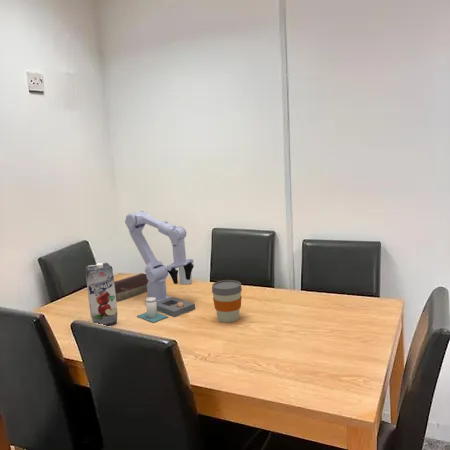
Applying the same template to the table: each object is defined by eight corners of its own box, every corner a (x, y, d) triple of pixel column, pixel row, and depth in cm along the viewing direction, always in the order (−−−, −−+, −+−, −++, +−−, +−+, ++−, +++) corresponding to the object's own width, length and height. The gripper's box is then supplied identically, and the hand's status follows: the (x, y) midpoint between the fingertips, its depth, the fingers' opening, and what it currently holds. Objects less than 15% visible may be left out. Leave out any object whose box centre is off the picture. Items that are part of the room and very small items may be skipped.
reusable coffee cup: (223, 311, 207) (221, 278, 205) (248, 315, 201) (246, 281, 198) (208, 321, 197) (205, 287, 194) (234, 326, 190) (232, 290, 188)
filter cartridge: (145, 316, 205) (143, 299, 203) (153, 313, 208) (151, 296, 207) (151, 318, 202) (149, 301, 200) (159, 315, 205) (158, 298, 203)
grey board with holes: (152, 309, 215) (152, 303, 214) (172, 301, 223) (172, 296, 223) (174, 317, 204) (174, 311, 203) (195, 308, 212) (194, 303, 212)
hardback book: (142, 281, 261) (141, 272, 260) (163, 287, 248) (163, 277, 247) (96, 295, 240) (95, 286, 239) (118, 302, 227) (117, 293, 226)
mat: (136, 316, 206) (136, 315, 206) (151, 311, 212) (151, 310, 212) (153, 323, 198) (153, 322, 198) (168, 317, 204) (168, 316, 204)
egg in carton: (176, 310, 210) (176, 303, 209) (181, 309, 212) (180, 301, 211) (180, 311, 208) (179, 304, 208) (184, 310, 210) (183, 302, 209)
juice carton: (90, 323, 202) (83, 262, 198) (114, 317, 207) (108, 258, 202) (94, 329, 195) (87, 267, 190) (119, 324, 199) (113, 262, 194)
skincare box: (192, 281, 253) (190, 260, 251) (190, 284, 249) (189, 262, 246) (181, 282, 253) (179, 260, 251) (179, 284, 249) (177, 262, 247)
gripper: (172, 257, 209) (175, 287, 211) (196, 250, 219) (199, 278, 221) (162, 256, 214) (165, 284, 216) (186, 249, 224) (189, 276, 226)
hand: (181, 281), depth 219 cm, fingers open, 7 cm apart
